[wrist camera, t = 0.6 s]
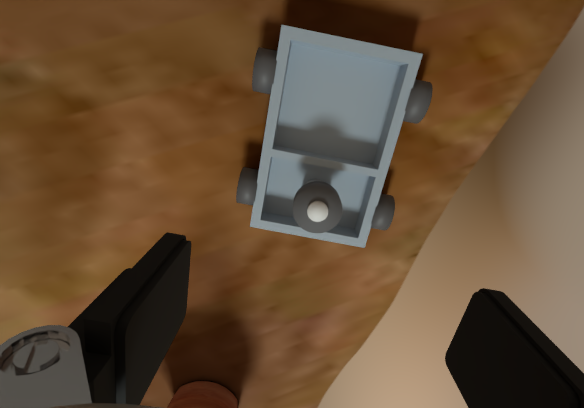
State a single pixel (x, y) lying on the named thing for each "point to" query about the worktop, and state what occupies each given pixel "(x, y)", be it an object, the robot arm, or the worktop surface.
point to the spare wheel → (317, 207)
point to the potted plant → (203, 396)
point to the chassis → (331, 129)
